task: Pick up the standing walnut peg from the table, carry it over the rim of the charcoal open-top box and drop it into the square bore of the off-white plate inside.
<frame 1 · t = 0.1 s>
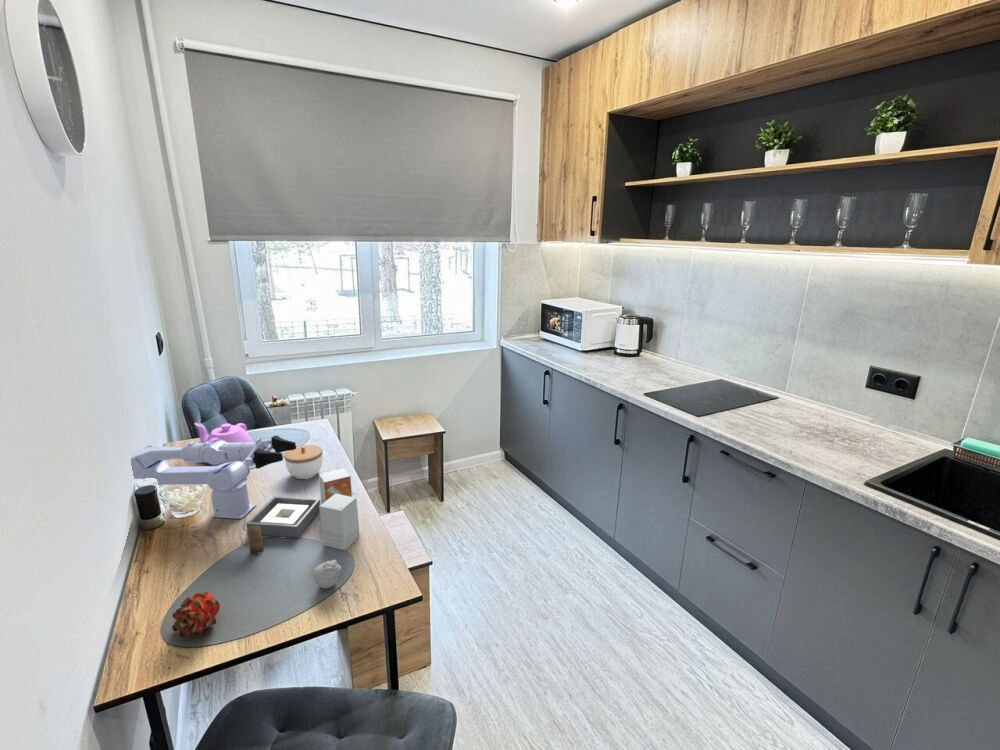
hand: (288, 451, 142), 22 cm above the table, tool horizontal, fingers open, 7 cm apart
teapot: (225, 458, 185), on the table
supplement box: (341, 541, 136), on the table
peg: (256, 551, 131), on the table
bore box: (286, 522, 144), on the table
small box: (337, 512, 150), on the table
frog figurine: (328, 586, 118), on the table
dragon fruit: (199, 627, 106), on the table
lidded bowl: (305, 475, 172), on the table
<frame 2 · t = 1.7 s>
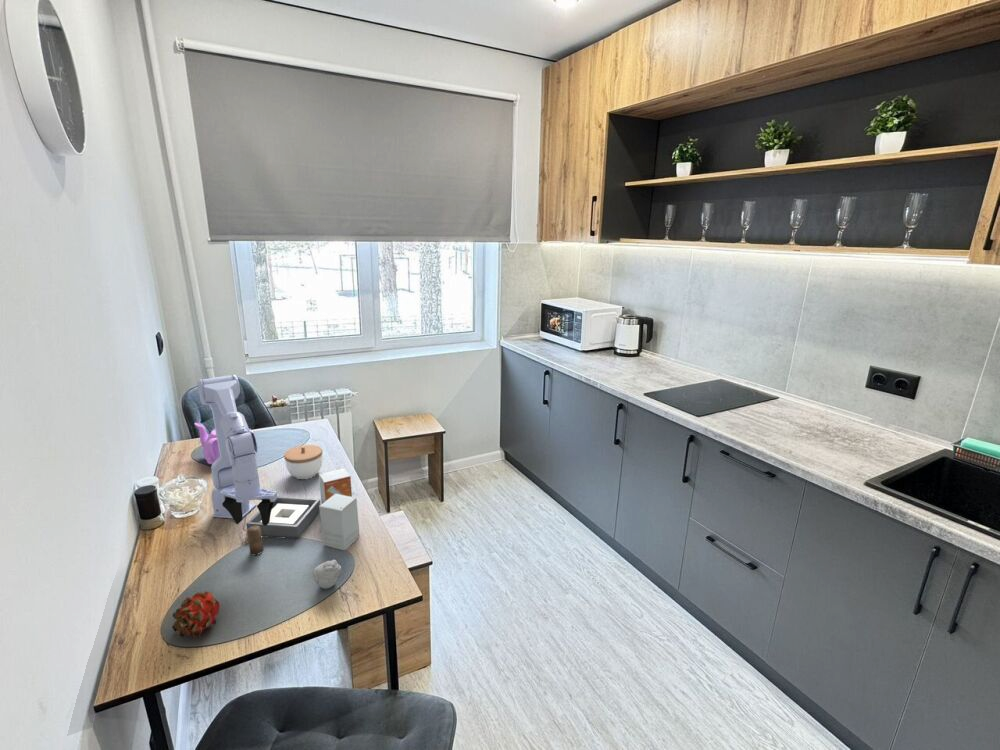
hand: (252, 522, 128), 9 cm above the table, tool pointing down, fingers open, 7 cm apart
nothing on the table moved.
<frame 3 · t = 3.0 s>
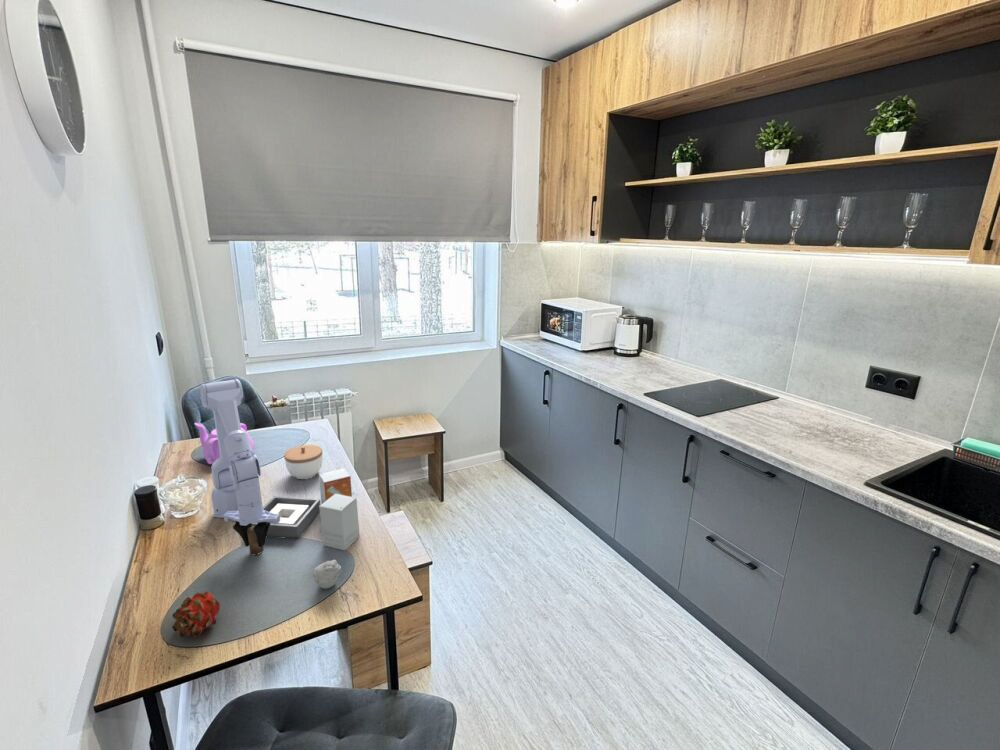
hand: (255, 544, 130), 2 cm above the table, tool pointing down, fingers closed on peg, 3 cm apart
peg: (256, 551, 131), on the table, touching gripper
everything else where it was.
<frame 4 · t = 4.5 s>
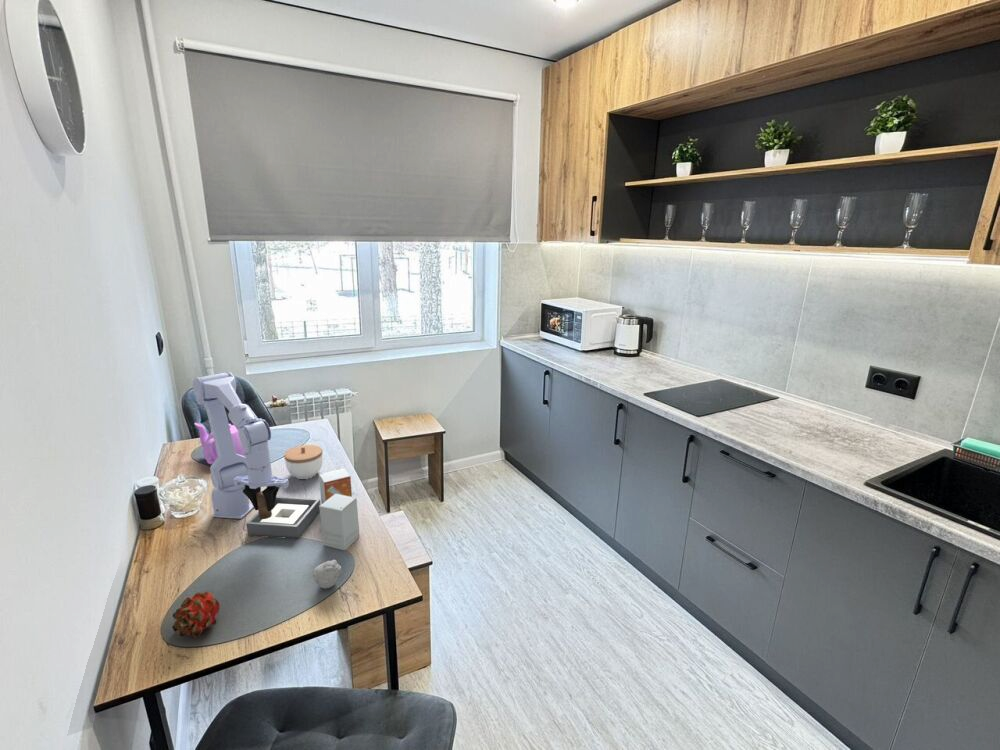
hand: (264, 508, 133), 10 cm above the table, tool pointing down, fingers closed on peg, 3 cm apart
peg: (265, 515, 134), point 8 cm above the table, touching gripper
everything else where it was.
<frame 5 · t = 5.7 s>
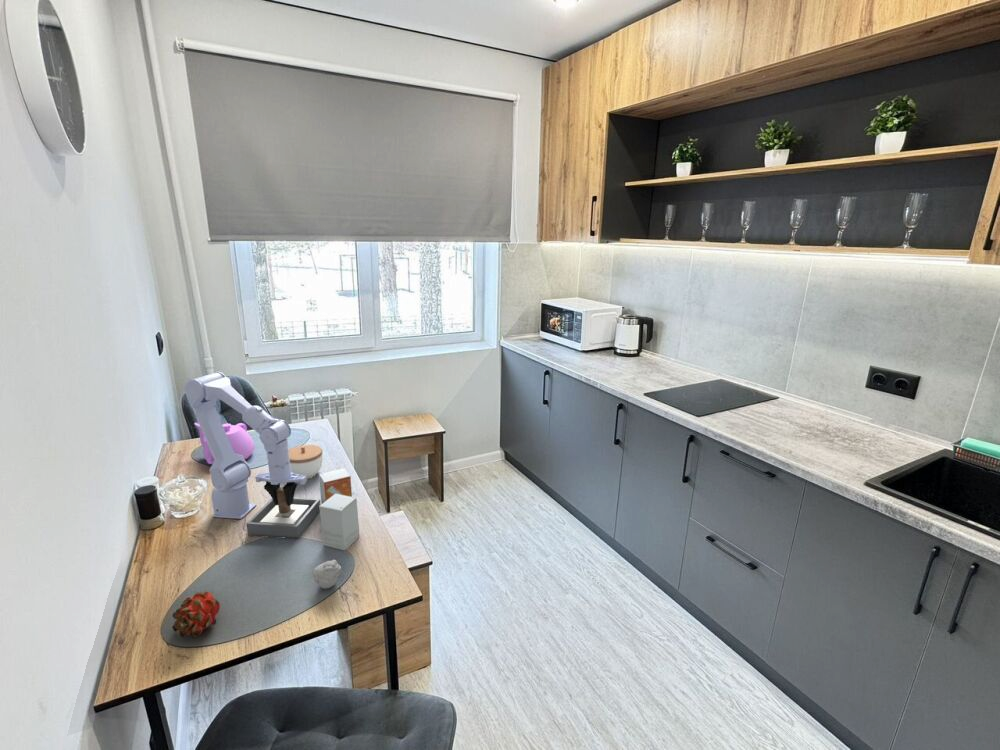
hand: (284, 503, 142), 6 cm above the table, tool pointing down, fingers closed on peg, 3 cm apart
peg: (284, 510, 143), point 4 cm above the table, touching gripper
everything else where it was.
when the fingers open (4 cm above the table, at t = 6.4 s): peg drops 1 cm, resting on bore box.
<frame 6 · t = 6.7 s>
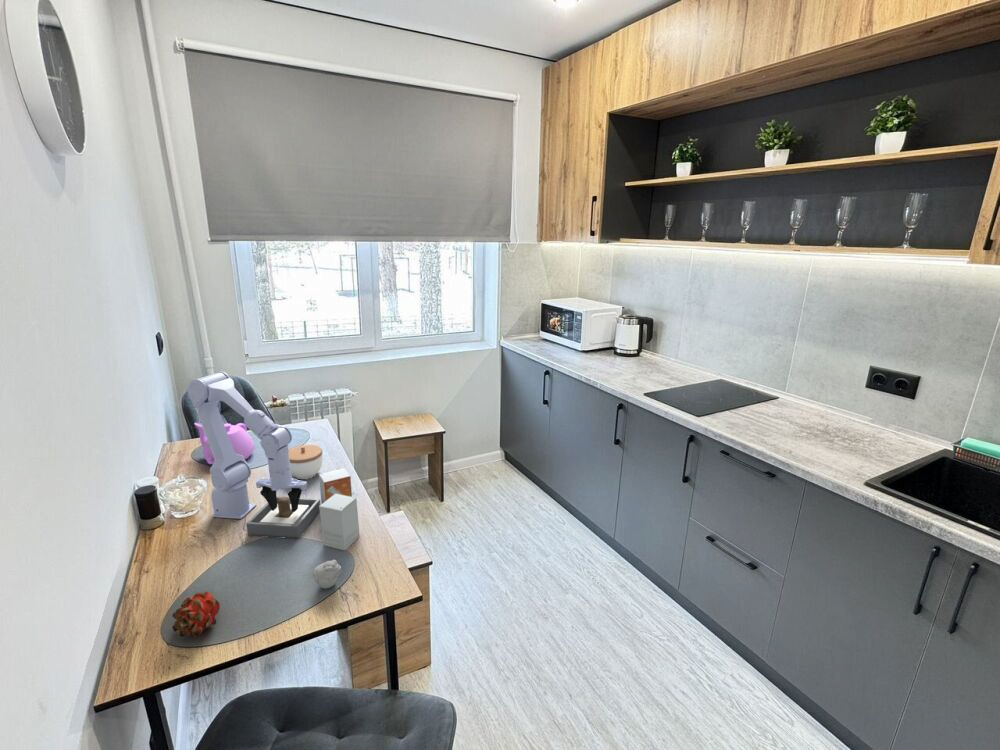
hand: (284, 509, 143), 4 cm above the table, tool pointing down, fingers open, 6 cm apart
peg: (286, 520, 144), point 1 cm above the table, touching bore box
everything else where it was.
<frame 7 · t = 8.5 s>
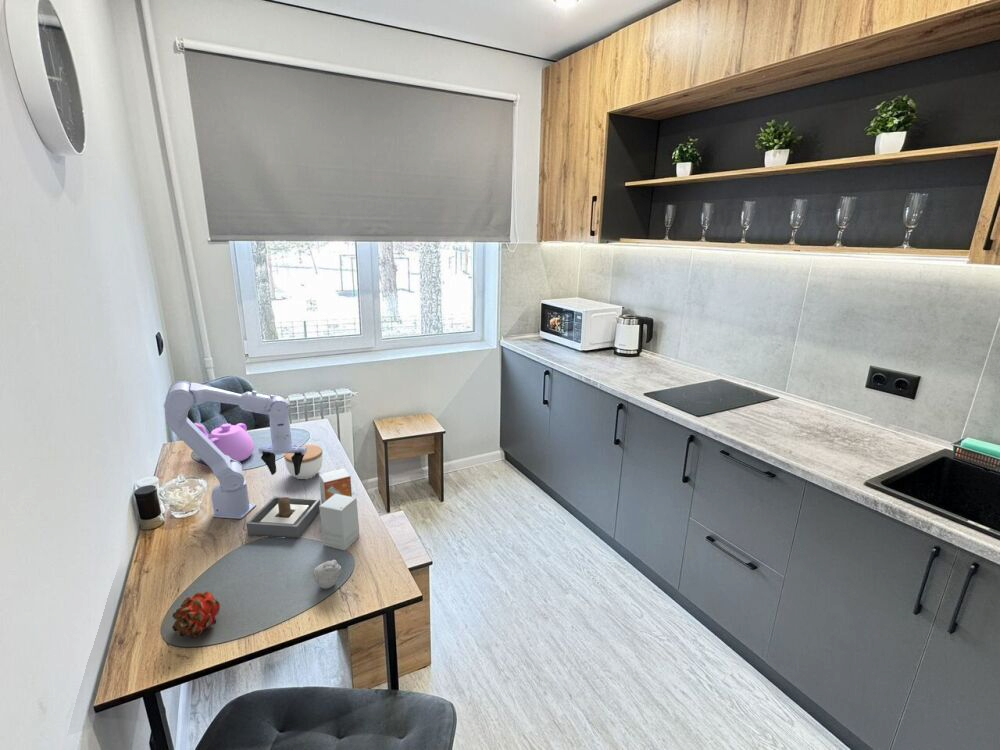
hand: (285, 473, 154), 9 cm above the table, tool pointing down, fingers open, 7 cm apart
nothing on the table moved.
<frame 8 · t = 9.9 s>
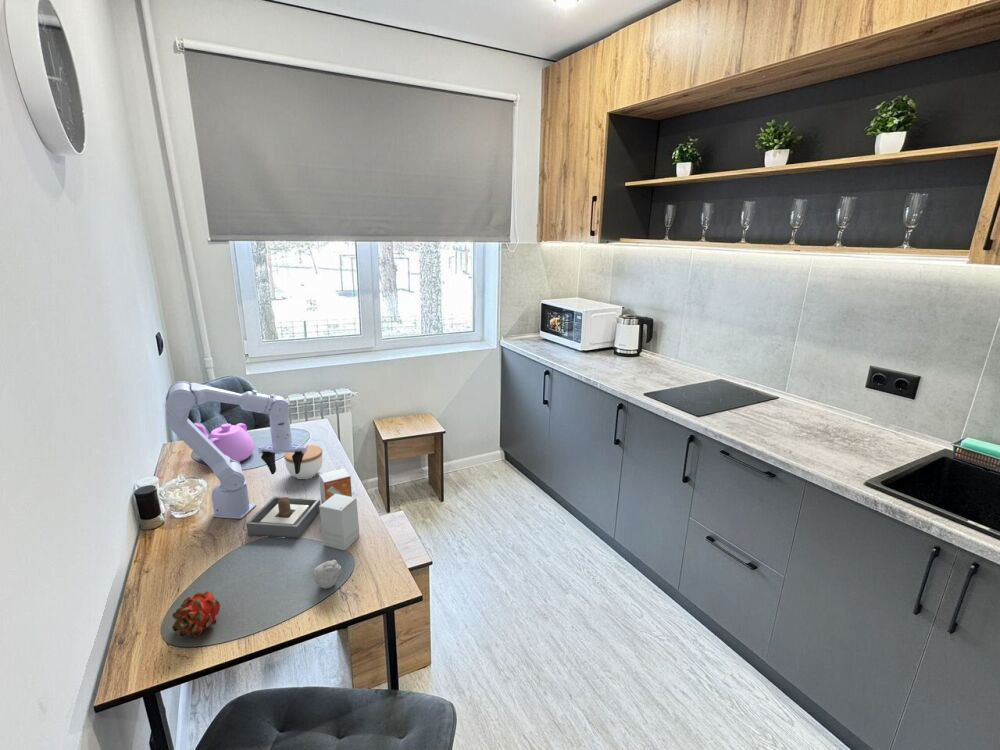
hand: (285, 472, 154), 9 cm above the table, tool pointing down, fingers open, 7 cm apart
nothing on the table moved.
at the end: peg 0.0 cm off-centre on the bore box, point 0.6 cm above the bore box's base; peg tilted 0°; the gripper is holding nothing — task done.
